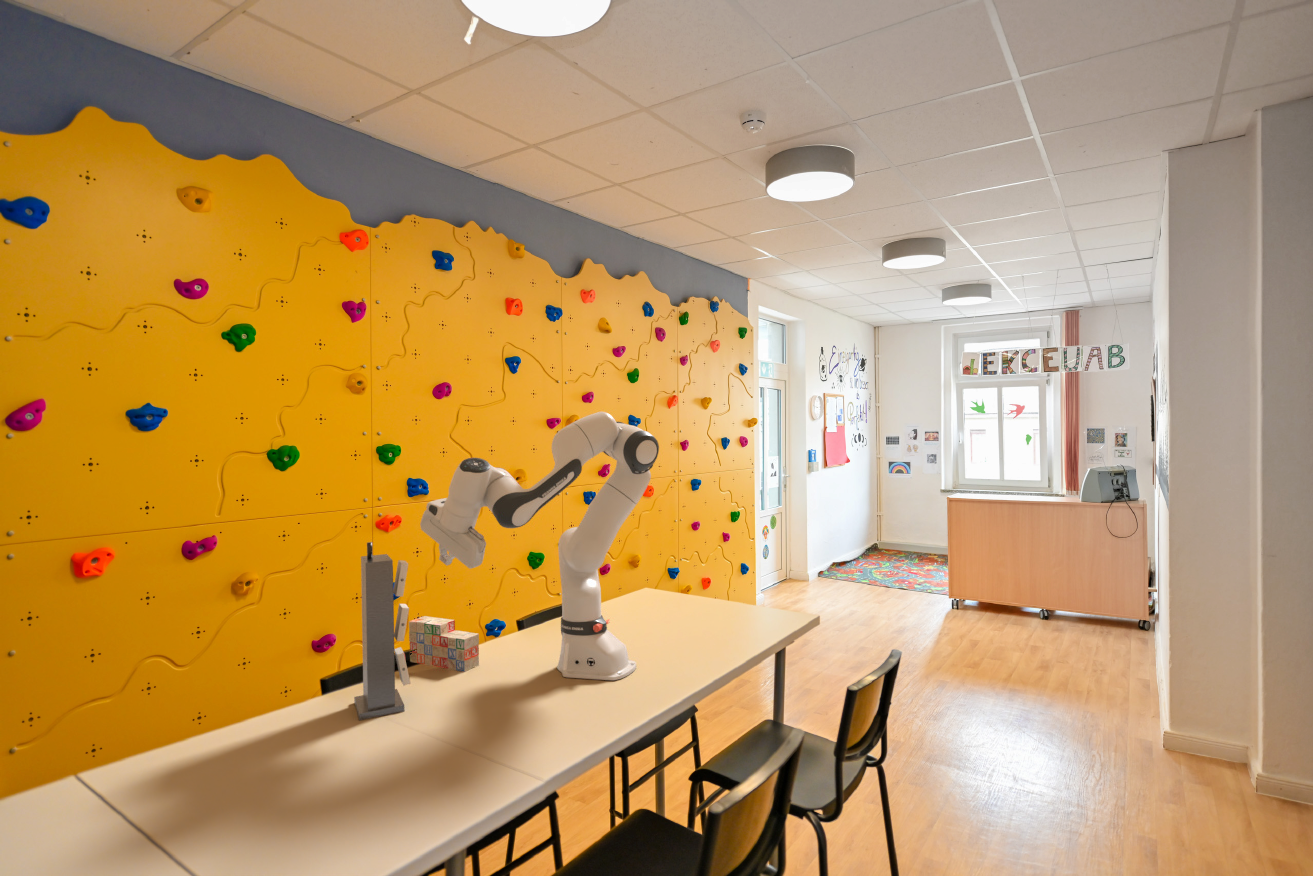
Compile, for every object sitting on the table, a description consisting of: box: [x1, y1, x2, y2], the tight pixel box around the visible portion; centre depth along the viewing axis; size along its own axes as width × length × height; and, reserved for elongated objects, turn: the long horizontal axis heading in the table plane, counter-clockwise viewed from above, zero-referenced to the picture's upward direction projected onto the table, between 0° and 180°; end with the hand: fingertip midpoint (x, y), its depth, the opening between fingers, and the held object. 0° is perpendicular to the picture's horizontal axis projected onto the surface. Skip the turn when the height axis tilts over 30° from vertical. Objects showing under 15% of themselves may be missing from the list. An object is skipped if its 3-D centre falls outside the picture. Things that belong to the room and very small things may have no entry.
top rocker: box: [393, 559, 409, 597], centre depth 166 cm, size 2×5×8 cm, turn 30°
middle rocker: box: [394, 603, 410, 642], centre depth 166 cm, size 2×5×8 cm, turn 29°
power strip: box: [353, 541, 406, 721], centre depth 164 cm, size 10×12×40 cm
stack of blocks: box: [408, 615, 480, 672], centre depth 195 cm, size 21×6×12 cm, turn 63°
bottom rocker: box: [394, 646, 411, 687], centre depth 166 cm, size 2×5×8 cm, turn 29°
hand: (444, 562), depth 173 cm, fingers closed
